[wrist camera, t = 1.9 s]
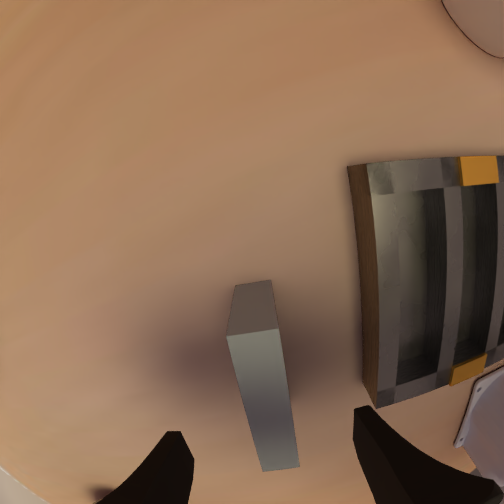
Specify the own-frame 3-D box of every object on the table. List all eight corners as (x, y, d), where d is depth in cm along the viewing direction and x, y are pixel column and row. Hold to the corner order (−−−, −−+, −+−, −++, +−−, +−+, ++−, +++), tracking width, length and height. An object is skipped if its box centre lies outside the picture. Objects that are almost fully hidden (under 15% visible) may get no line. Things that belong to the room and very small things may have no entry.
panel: (290, 400, 19) (299, 466, 13) (261, 405, 19) (262, 471, 13) (270, 279, 17) (278, 328, 11) (235, 285, 17) (226, 336, 11)
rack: (505, 330, 18) (528, 347, 15) (362, 381, 18) (377, 412, 15) (511, 156, 15) (541, 156, 12) (347, 166, 15) (368, 163, 12)
